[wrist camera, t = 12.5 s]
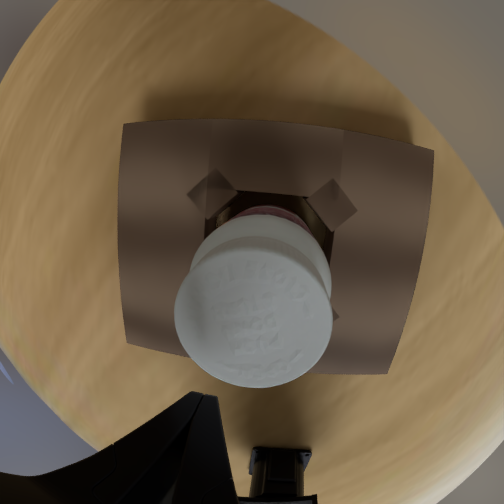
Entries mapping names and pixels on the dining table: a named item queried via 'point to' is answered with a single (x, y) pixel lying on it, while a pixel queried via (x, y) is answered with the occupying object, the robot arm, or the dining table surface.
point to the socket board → (281, 182)
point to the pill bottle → (256, 300)
